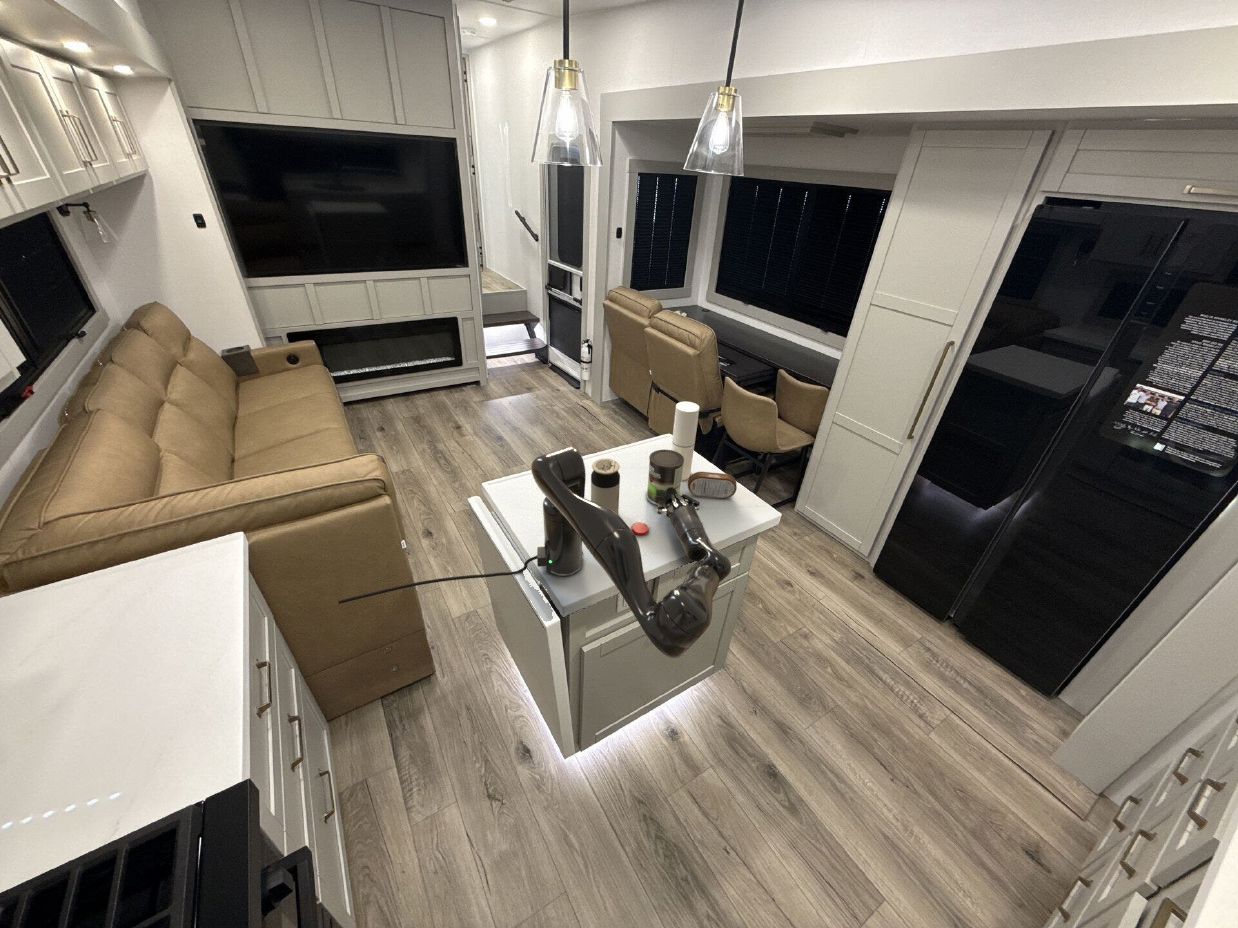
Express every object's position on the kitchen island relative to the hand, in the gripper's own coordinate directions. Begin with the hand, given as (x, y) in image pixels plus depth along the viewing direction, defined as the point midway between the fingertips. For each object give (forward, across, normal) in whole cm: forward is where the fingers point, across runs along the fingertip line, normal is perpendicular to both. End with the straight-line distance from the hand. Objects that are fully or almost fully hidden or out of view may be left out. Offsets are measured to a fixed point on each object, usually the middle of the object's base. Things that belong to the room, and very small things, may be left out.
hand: (669, 489), depth 143 cm
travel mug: (-2, -20, -6) cm, 21 cm away
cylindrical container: (+16, +9, -6) cm, 19 cm away
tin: (+3, +14, -6) cm, 16 cm away
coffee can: (+4, 0, -6) cm, 8 cm away
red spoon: (-11, -16, -6) cm, 20 cm away
